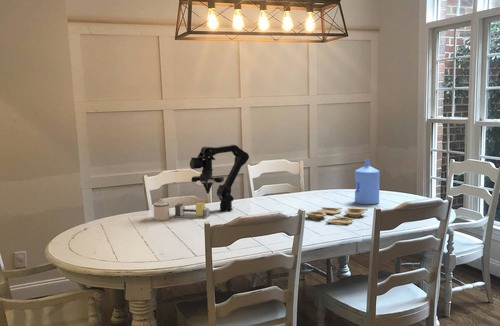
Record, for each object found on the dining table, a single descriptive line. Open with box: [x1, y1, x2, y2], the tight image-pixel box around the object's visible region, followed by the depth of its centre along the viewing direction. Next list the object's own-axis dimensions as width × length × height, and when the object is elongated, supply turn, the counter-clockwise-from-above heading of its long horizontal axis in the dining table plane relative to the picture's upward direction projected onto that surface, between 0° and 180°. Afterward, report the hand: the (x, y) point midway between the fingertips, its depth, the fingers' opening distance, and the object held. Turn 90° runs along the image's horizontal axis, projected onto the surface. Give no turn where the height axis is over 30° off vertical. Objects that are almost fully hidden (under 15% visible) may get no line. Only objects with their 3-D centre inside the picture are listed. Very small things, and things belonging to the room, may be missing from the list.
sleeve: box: [195, 201, 206, 216], centre depth 273 cm, size 4×5×7 cm
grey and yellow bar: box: [174, 202, 211, 220], centre depth 274 cm, size 19×8×7 cm, turn 79°
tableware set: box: [305, 206, 369, 226], centre depth 267 cm, size 35×29×4 cm
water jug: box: [354, 159, 381, 205], centre depth 303 cm, size 16×16×28 cm
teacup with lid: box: [153, 198, 170, 222], centre depth 270 cm, size 12×9×12 cm
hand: (208, 193), depth 280 cm, fingers closed
